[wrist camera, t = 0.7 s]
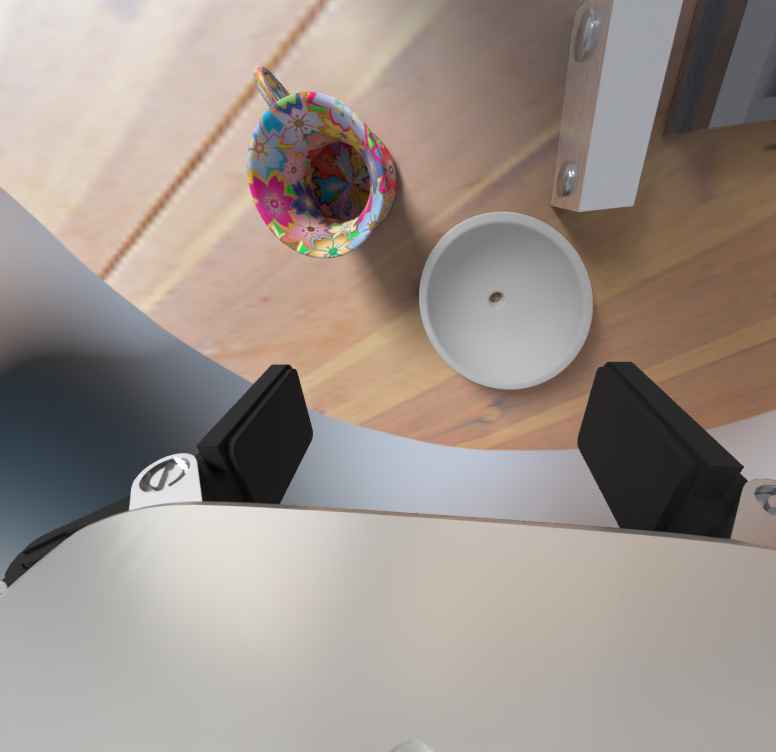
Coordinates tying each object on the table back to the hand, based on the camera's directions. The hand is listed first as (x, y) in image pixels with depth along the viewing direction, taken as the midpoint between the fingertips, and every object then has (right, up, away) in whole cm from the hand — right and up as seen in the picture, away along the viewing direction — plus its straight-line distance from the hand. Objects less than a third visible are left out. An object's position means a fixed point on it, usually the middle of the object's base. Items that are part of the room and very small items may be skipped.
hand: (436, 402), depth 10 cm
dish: (+10, +9, +23) cm, 27 cm away
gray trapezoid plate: (+14, +21, +15) cm, 30 cm away
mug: (-6, +20, +19) cm, 28 cm away
